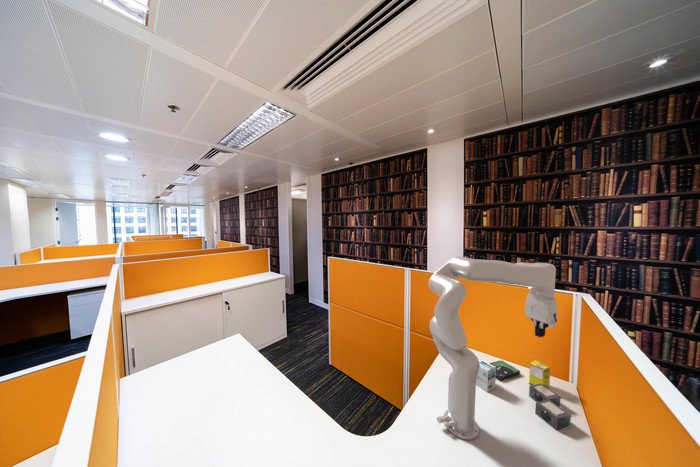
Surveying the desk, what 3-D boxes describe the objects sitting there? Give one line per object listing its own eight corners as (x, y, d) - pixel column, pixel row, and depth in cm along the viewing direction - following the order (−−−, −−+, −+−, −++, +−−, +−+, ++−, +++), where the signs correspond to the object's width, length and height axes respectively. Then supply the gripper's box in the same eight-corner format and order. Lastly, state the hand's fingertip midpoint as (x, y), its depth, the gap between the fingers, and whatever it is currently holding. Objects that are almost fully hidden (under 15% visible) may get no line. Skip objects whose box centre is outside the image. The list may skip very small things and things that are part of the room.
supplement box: (549, 387, 110) (550, 366, 109) (543, 392, 107) (544, 369, 107) (535, 380, 115) (536, 359, 115) (528, 383, 113) (529, 362, 112)
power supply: (547, 410, 97) (547, 398, 96) (528, 396, 105) (529, 385, 104) (559, 407, 99) (560, 395, 98) (540, 393, 106) (541, 382, 106)
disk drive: (500, 382, 114) (520, 375, 119) (500, 377, 114) (520, 370, 119) (482, 370, 124) (501, 363, 129) (482, 365, 124) (501, 359, 129)
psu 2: (556, 431, 87) (556, 418, 87) (534, 413, 95) (535, 402, 95) (569, 426, 89) (570, 414, 89) (547, 410, 97) (548, 398, 97)
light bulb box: (495, 388, 110) (496, 366, 109) (487, 393, 107) (488, 371, 106) (474, 374, 119) (475, 355, 119) (466, 378, 116) (467, 358, 115)
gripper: (517, 288, 100) (515, 328, 101) (555, 299, 85) (552, 346, 86) (530, 287, 102) (528, 326, 103) (570, 298, 87) (567, 344, 88)
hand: (539, 335), depth 95 cm, fingers closed
